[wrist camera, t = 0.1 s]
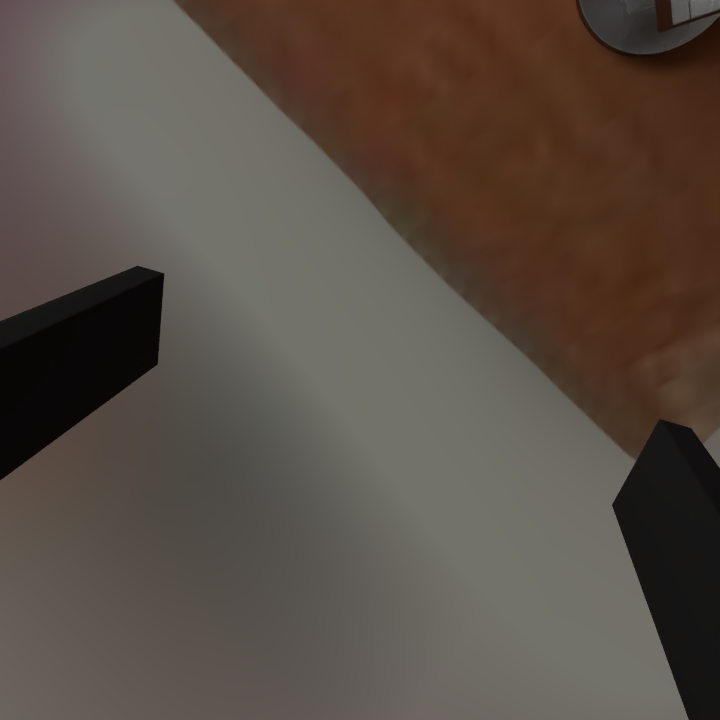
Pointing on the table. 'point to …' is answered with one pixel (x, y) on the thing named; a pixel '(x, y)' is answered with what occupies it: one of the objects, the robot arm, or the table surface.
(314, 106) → the table surface
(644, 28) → the brushed metal pedestal stand
